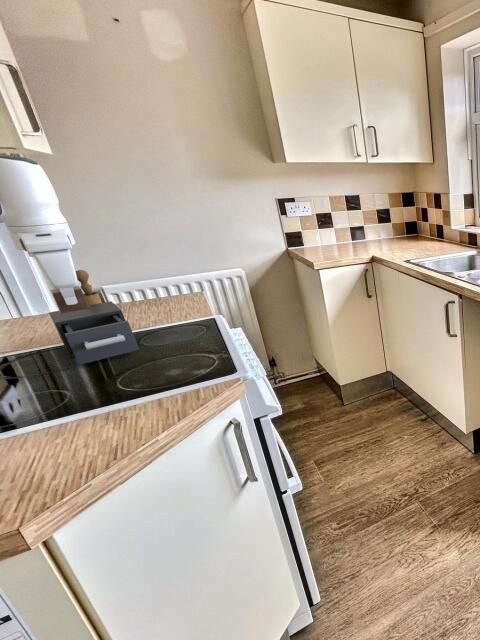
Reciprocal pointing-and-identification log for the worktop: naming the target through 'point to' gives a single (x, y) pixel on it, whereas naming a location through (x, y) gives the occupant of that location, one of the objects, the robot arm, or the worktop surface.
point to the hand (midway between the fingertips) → (70, 301)
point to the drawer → (100, 338)
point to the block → (69, 308)
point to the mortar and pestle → (87, 288)
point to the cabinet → (82, 318)
